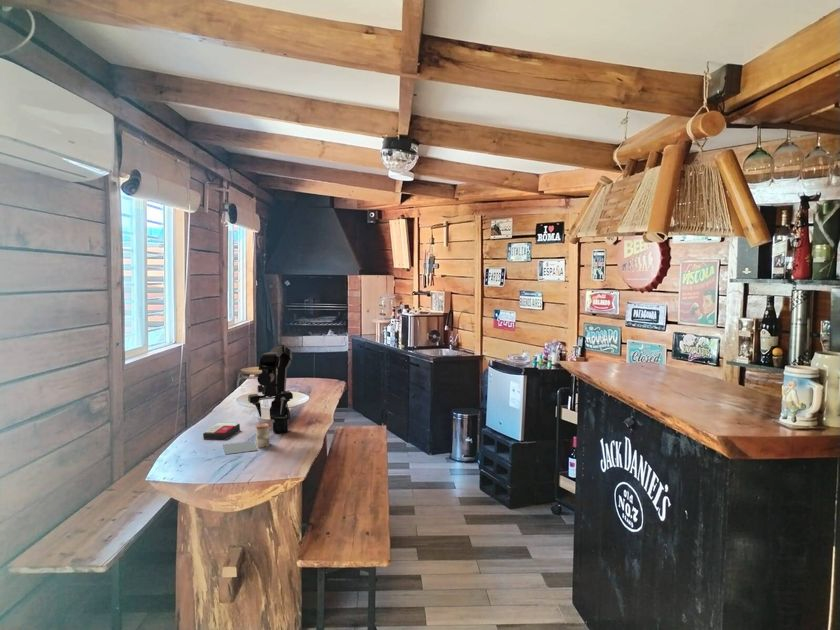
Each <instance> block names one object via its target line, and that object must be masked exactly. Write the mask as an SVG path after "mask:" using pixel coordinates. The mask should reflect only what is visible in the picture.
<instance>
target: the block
mask: <svg viewBox="0 0 840 630" xmlns="http://www.w3.org/2000/svg"><path fill="white" fill-rule="evenodd" d="M255 445H256V447H257V448H264V446H266V447H270V426H269V424H268V422H267V423H258V424H255Z"/></svg>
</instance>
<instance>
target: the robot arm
mask: <svg viewBox="0 0 840 630" xmlns="http://www.w3.org/2000/svg"><path fill="white" fill-rule="evenodd" d="M292 360H293V353H292V351H291V349H290V348H288V347H286V344H284V343H283V344H282V343H281V344H274V345H273V347H272V348H271V349H270V351H269V352H268V351H267V352H264V353H262V354H261V356H260V359H259V365H258V371H261V373H259V374H258V376H257V379H256V380H257V383H258V384H259V385H257V393H254V394H253V393H251V394H248V396H247V402H249V404H252V405H253V406H255V407H256V410H257V413H258V416H259V418H262V408H261V402H260V401H262V400H271V399H273V400H272V401H271V404H270V406H271V407H270V408H269V419H270V421H271V425H272V426H271V431H272V432H273V433H274V434H281V433H282V434H283V432H284V433H289V430H288V429H289V428H288V427H289V426H288V425H289V424H288V420H290V419H291V418H292V417H291V415H292V414H291V411H290V409H289V404H288V402H290V401H291V400H293V398H294V395H293V393H292V392H291V391H290V390H286V388H287V387H286V386H287V371H288V369H289V367H290V366H291V363H292ZM259 393H260V394H261V395H259Z"/></svg>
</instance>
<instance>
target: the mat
mask: <svg viewBox="0 0 840 630" xmlns="http://www.w3.org/2000/svg"><path fill="white" fill-rule="evenodd" d="M222 446H223V450H224V454H225V455H234V454H235V455H236V454H242V452H243V453H249V452H250V451H251V452H259V449H258V447H257V445H256V442H254V440H249V441H248V440H247V441H243V442H242V441H240V442H234V443H233V442H232V443H225V444H222ZM251 452H250V453H251Z"/></svg>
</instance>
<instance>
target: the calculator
mask: <svg viewBox="0 0 840 630" xmlns="http://www.w3.org/2000/svg"><path fill="white" fill-rule="evenodd" d="M239 430H240V431H241V425H240V423H237V422H235V423H234V422H218V423H217V424H215V425H213V426H211V427H210V428H208V429H207V430H205V431H204V432H203V434H202V435H203V437H202V438H204V439H203V440H221V441H223V440H228V439H229V438H231V437H233V436H234V435H235V434H237V433H239V432H240V431H239ZM238 431H239V432H238ZM236 432H237V433H236ZM233 434H234V435H233ZM230 436H231V437H230ZM227 438H228V439H227Z"/></svg>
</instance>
